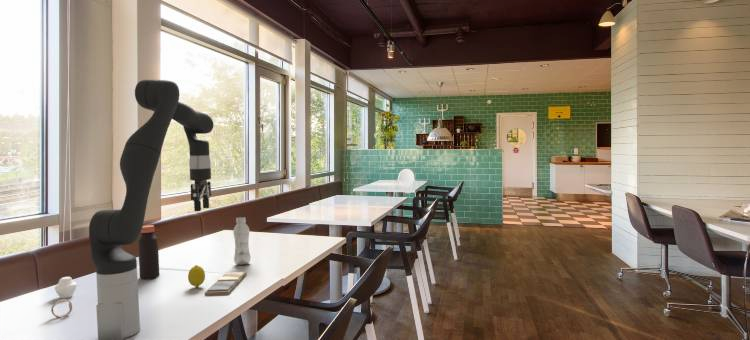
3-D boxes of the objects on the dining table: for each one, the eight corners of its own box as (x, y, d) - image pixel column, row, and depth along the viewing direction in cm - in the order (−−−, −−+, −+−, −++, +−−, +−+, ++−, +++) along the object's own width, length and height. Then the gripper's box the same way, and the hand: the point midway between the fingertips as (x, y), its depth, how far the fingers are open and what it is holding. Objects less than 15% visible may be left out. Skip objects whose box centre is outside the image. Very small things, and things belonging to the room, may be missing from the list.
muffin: (51, 300, 138) (50, 280, 138) (60, 294, 144) (58, 274, 144) (73, 298, 140) (71, 278, 139) (80, 292, 146) (79, 273, 145)
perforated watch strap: (72, 315, 125) (71, 298, 125) (53, 320, 122) (52, 303, 121) (70, 313, 127) (69, 296, 127) (51, 318, 123) (49, 301, 123)
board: (228, 294, 140) (228, 290, 140) (204, 295, 140) (204, 291, 139) (246, 275, 162) (246, 271, 162) (225, 275, 162) (225, 271, 161)
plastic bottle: (233, 263, 179) (231, 217, 178) (249, 261, 182) (247, 216, 181) (235, 267, 173) (233, 219, 172) (251, 265, 176) (250, 218, 175)
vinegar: (135, 279, 160) (132, 227, 159) (149, 274, 167) (146, 224, 166) (150, 280, 158) (147, 228, 157) (163, 274, 165) (161, 224, 164)
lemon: (199, 290, 145) (198, 267, 145) (185, 289, 146) (184, 267, 146) (208, 285, 150) (207, 263, 150) (195, 284, 152) (194, 262, 151)
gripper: (203, 168, 152) (205, 212, 153) (216, 166, 166) (218, 206, 167) (182, 168, 152) (184, 212, 153) (197, 167, 166) (199, 207, 167)
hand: (202, 209), depth 160 cm, fingers open, 8 cm apart
